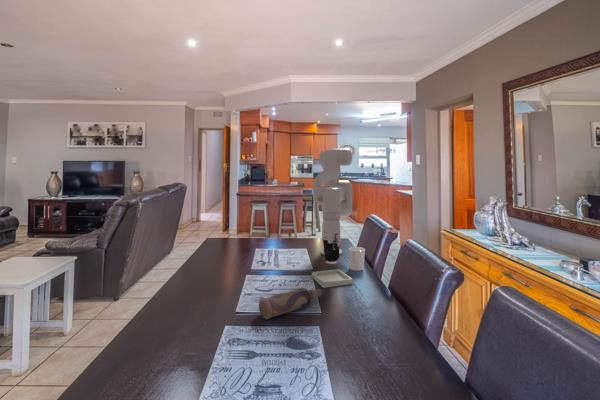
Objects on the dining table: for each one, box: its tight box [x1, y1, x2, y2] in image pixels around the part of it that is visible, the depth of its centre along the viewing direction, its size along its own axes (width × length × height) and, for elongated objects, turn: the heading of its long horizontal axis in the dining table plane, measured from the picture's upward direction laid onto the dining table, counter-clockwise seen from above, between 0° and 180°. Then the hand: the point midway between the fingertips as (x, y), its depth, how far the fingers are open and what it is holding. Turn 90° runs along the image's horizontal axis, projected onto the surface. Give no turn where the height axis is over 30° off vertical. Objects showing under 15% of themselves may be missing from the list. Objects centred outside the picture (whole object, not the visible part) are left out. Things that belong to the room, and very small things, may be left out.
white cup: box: [348, 246, 366, 272], centre depth 144 cm, size 8×8×10 cm
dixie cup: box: [321, 236, 342, 265], centre depth 128 cm, size 8×8×11 cm
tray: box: [311, 268, 354, 289], centre depth 130 cm, size 14×14×2 cm
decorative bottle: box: [258, 287, 325, 320], centre depth 103 cm, size 26×8×7 cm, turn 125°
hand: (331, 255), depth 129 cm, fingers closed on dixie cup, 8 cm apart
